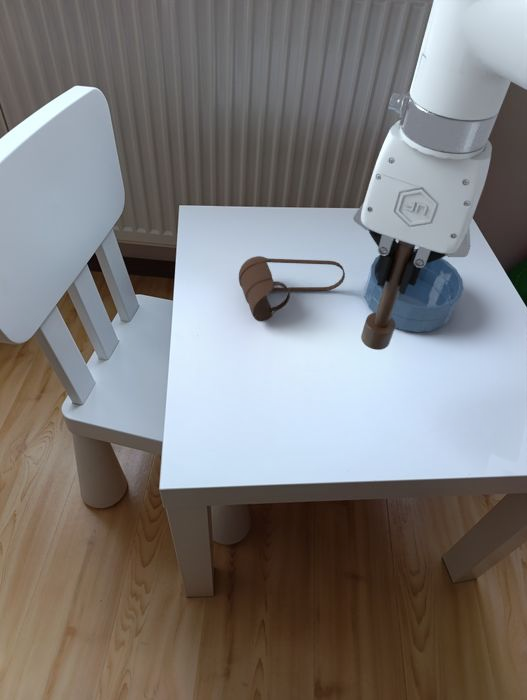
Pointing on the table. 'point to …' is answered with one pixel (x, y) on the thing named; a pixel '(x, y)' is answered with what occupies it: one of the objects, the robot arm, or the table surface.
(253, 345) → the table surface
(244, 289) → the brown barrel bag
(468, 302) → the table surface
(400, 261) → the stirring stick
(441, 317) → the bowl
